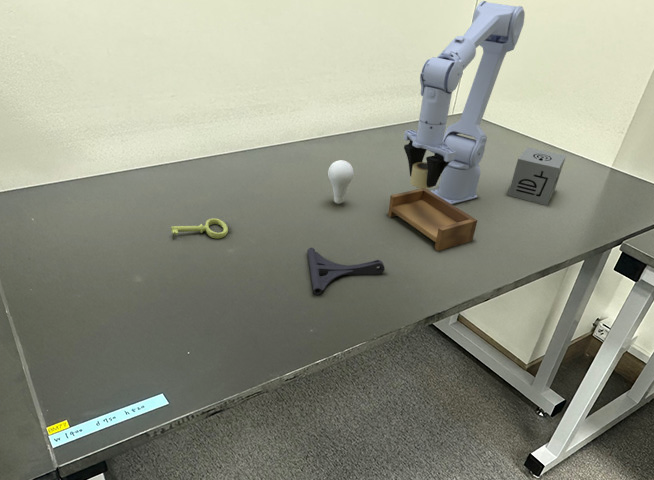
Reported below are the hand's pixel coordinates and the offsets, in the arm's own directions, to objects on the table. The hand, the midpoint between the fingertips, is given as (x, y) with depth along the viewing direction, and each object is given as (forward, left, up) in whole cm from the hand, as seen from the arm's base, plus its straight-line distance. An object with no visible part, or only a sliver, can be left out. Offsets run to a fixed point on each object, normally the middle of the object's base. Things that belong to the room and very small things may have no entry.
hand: (422, 180), depth 120 cm
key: (+47, -17, -11) cm, 51 cm away
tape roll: (0, 0, -1) cm, 1 cm away
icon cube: (-38, +1, -10) cm, 40 cm away
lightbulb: (+12, -16, -11) cm, 22 cm away
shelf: (0, +4, -10) cm, 11 cm away
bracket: (+27, +11, -10) cm, 31 cm away
